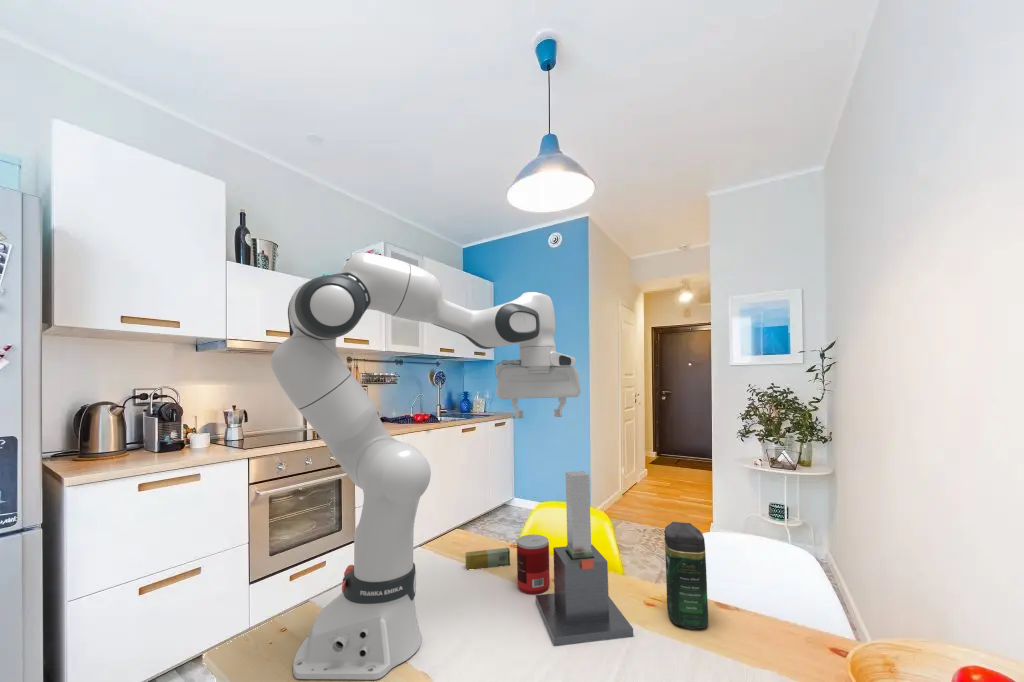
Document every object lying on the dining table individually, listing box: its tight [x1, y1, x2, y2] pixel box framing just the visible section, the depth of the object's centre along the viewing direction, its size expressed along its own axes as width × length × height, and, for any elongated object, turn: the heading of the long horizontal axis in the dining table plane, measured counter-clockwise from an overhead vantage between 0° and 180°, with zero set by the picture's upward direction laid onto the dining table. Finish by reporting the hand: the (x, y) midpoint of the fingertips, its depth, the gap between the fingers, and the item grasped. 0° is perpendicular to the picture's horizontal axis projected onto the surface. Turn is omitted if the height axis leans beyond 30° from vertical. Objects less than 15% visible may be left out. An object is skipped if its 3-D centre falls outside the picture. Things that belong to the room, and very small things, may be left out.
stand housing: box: [535, 543, 634, 647], centre depth 91 cm, size 16×16×14 cm
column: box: [565, 470, 592, 560], centre depth 92 cm, size 4×4×22 cm
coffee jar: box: [664, 521, 709, 630], centre depth 90 cm, size 10×8×19 cm
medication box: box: [464, 547, 511, 571], centre depth 116 cm, size 12×3×4 cm, turn 102°
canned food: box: [516, 534, 551, 595], centre depth 104 cm, size 8×8×11 cm
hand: (539, 417), depth 102 cm, fingers open, 8 cm apart
